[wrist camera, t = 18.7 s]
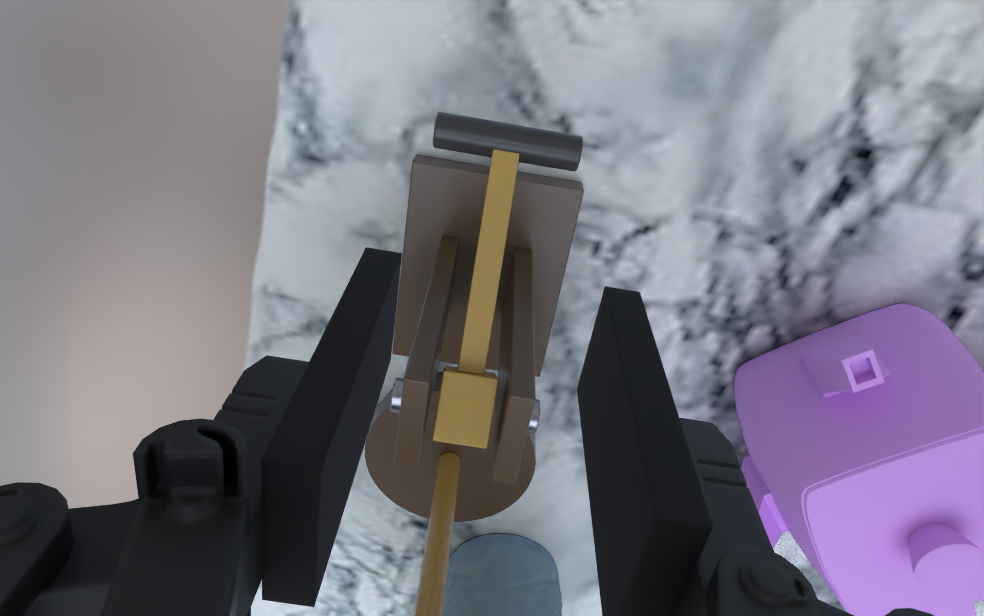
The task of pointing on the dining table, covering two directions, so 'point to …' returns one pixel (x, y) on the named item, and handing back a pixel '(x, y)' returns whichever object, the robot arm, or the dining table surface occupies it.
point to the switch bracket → (446, 288)
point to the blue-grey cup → (502, 579)
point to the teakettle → (873, 459)
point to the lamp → (441, 489)
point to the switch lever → (488, 261)
